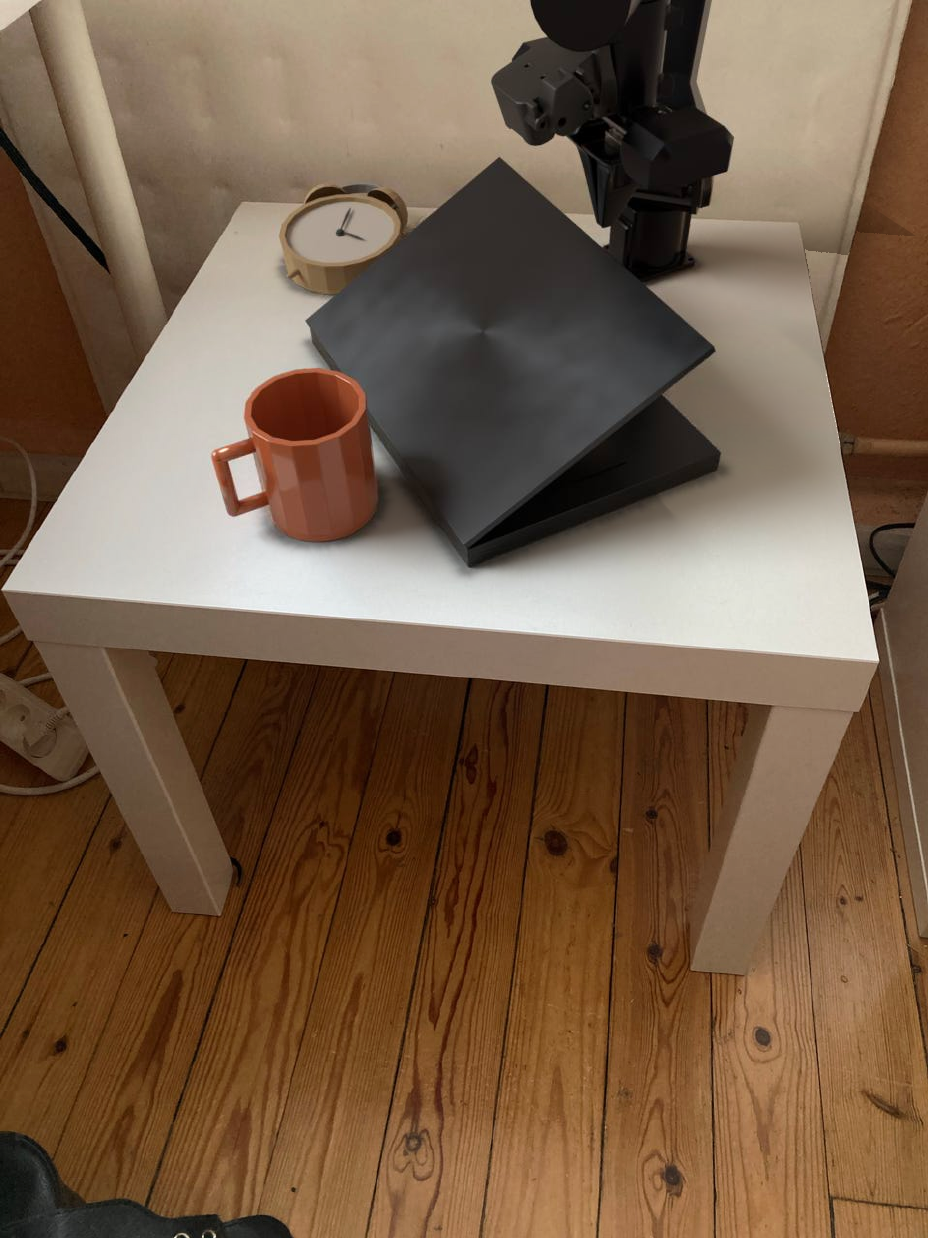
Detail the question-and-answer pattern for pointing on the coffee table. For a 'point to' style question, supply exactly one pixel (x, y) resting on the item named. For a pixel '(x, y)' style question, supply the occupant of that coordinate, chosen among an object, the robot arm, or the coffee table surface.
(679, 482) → the laptop
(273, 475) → the mug
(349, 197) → the alarm clock
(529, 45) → the robot arm
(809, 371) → the coffee table surface
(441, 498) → the laptop screen
